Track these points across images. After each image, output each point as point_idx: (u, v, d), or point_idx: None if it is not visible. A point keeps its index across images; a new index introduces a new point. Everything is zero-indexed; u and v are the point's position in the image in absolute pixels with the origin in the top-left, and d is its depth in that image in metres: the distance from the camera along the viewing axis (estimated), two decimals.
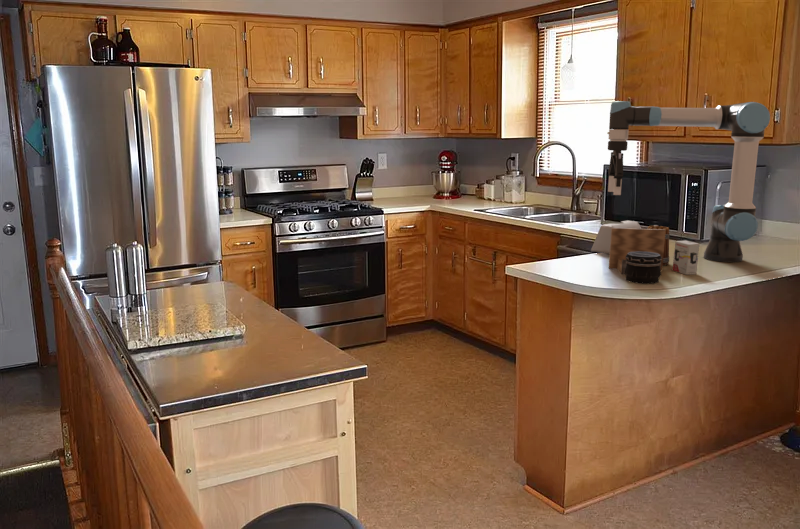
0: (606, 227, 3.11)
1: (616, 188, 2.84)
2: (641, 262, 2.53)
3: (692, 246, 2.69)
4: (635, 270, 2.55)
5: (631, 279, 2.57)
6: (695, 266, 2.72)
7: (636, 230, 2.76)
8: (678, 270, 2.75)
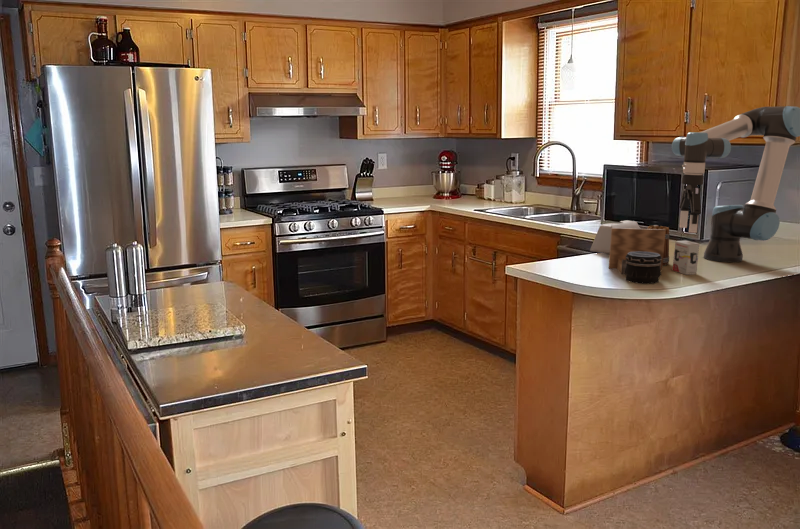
0: (605, 227, 3.12)
1: (692, 225, 2.65)
2: (641, 262, 2.53)
3: (692, 246, 2.69)
4: (635, 270, 2.55)
5: (631, 279, 2.57)
6: (695, 266, 2.72)
7: (636, 230, 2.76)
8: (678, 270, 2.75)
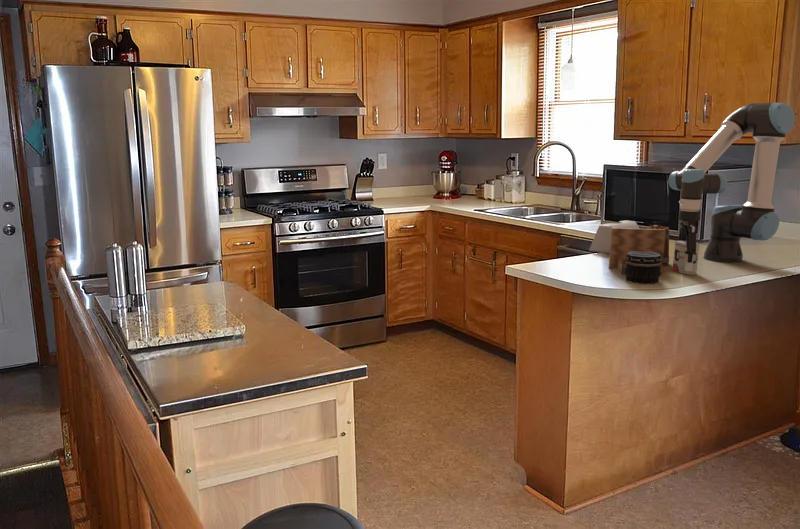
0: (604, 227, 3.12)
1: (687, 264, 2.70)
2: (641, 262, 2.53)
3: None
4: (635, 270, 2.55)
5: (631, 279, 2.57)
6: (695, 266, 2.72)
7: (636, 230, 2.76)
8: (678, 270, 2.75)
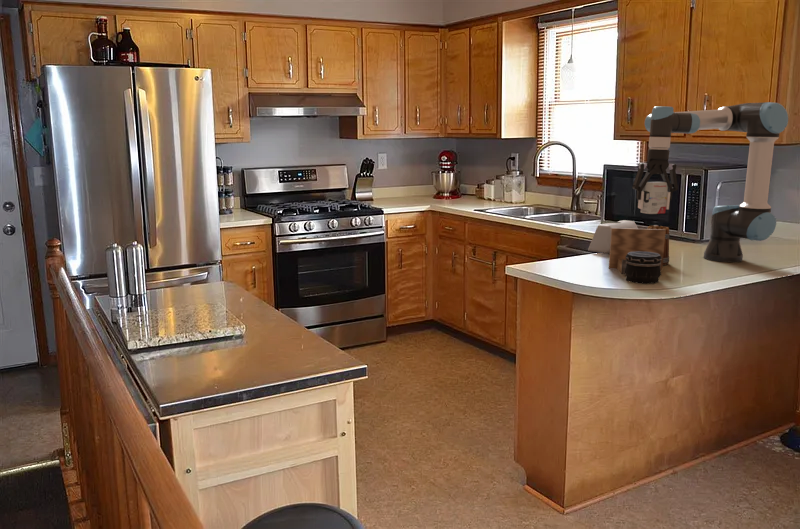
0: (603, 227, 3.12)
1: (639, 201, 2.70)
2: (641, 262, 2.53)
3: None
4: (635, 270, 2.55)
5: (631, 279, 2.57)
6: (648, 205, 2.67)
7: (636, 230, 2.76)
8: None
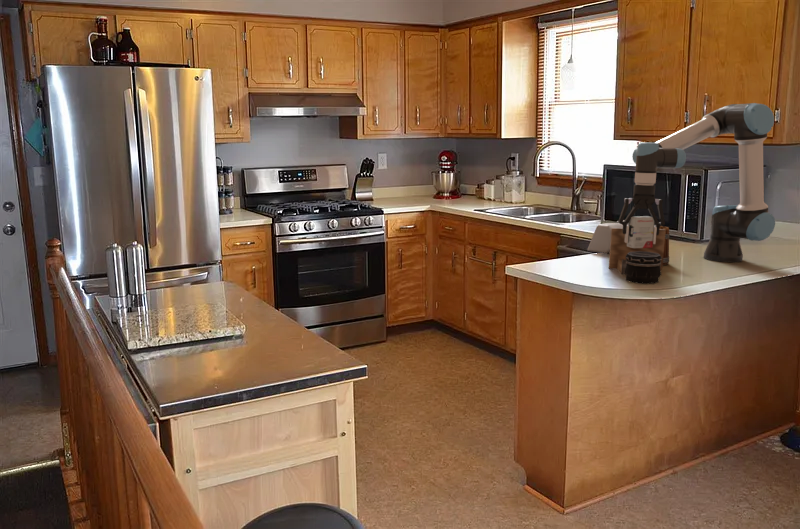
0: (602, 227, 3.13)
1: (625, 235, 2.73)
2: (641, 262, 2.53)
3: None
4: (635, 270, 2.55)
5: (631, 279, 2.57)
6: (632, 240, 2.70)
7: None
8: None
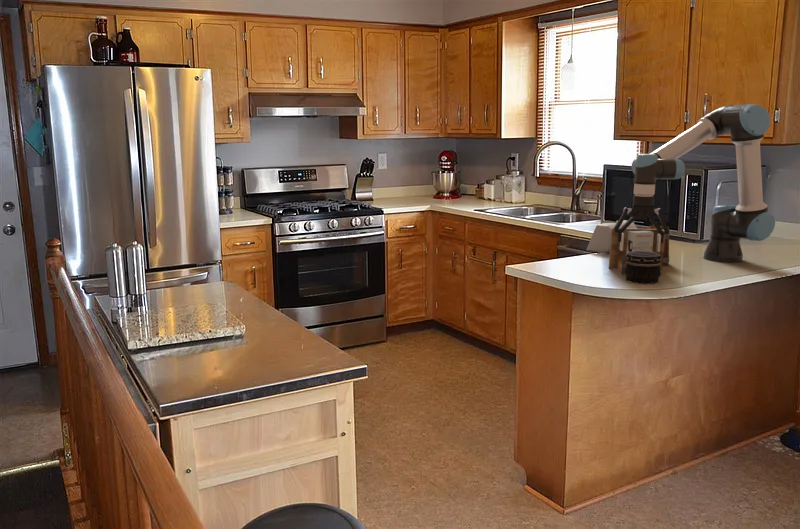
0: (601, 226, 3.13)
1: (620, 243, 2.74)
2: (641, 262, 2.53)
3: (629, 233, 2.72)
4: (635, 270, 2.55)
5: (631, 279, 2.57)
6: None
7: (636, 230, 2.76)
8: None
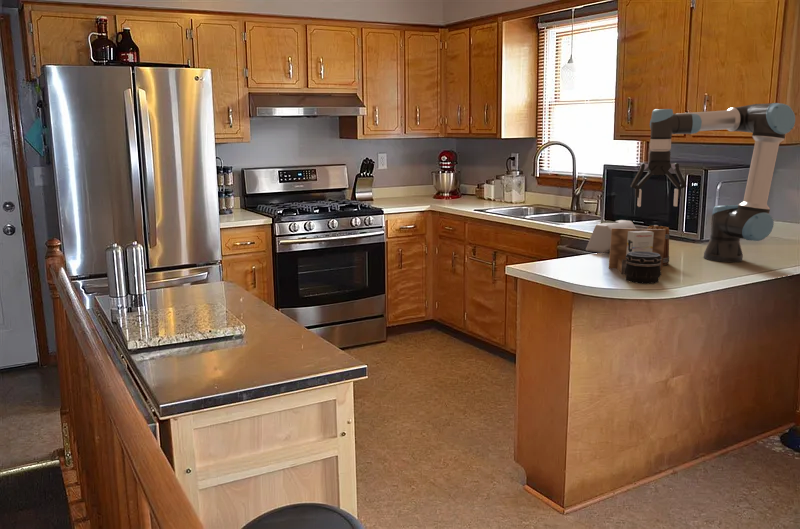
0: (601, 226, 3.13)
1: (638, 199, 2.76)
2: (641, 262, 2.53)
3: (629, 233, 2.72)
4: (635, 270, 2.55)
5: (631, 279, 2.57)
6: None
7: (636, 230, 2.76)
8: None
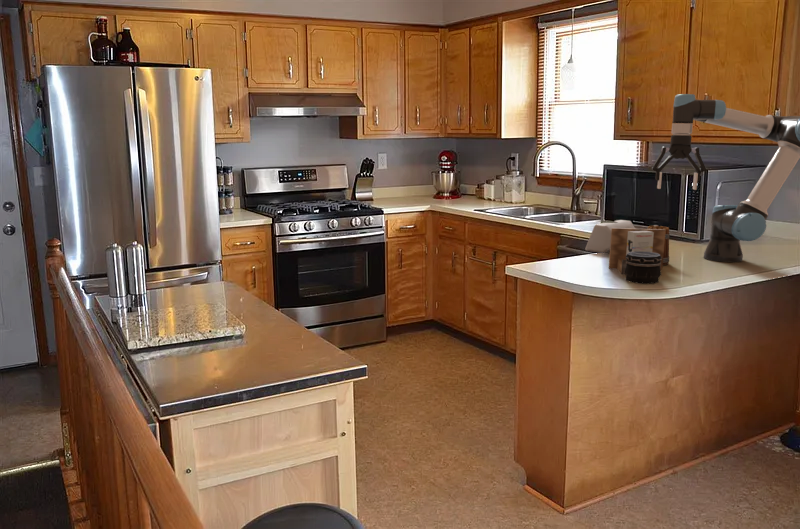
0: (600, 226, 3.13)
1: (658, 181, 2.84)
2: (641, 262, 2.53)
3: (629, 233, 2.72)
4: (635, 270, 2.55)
5: (631, 279, 2.57)
6: None
7: (636, 230, 2.76)
8: None
